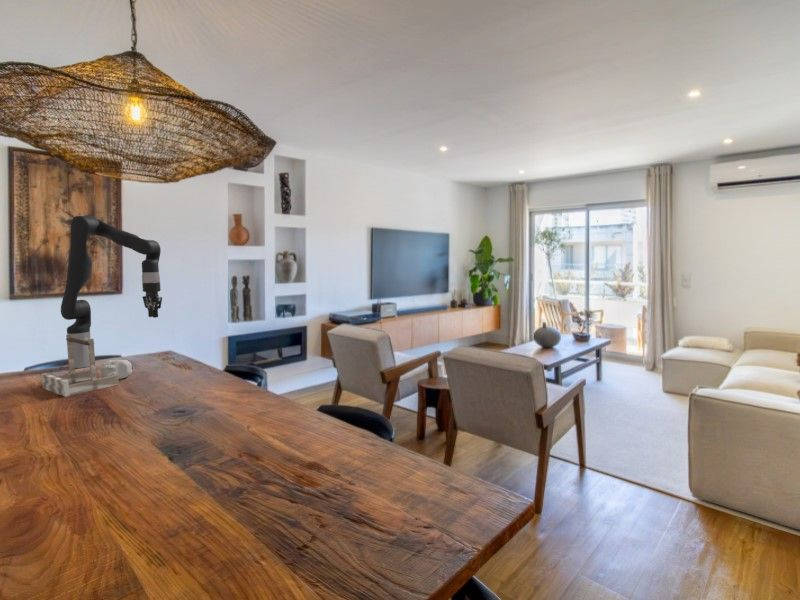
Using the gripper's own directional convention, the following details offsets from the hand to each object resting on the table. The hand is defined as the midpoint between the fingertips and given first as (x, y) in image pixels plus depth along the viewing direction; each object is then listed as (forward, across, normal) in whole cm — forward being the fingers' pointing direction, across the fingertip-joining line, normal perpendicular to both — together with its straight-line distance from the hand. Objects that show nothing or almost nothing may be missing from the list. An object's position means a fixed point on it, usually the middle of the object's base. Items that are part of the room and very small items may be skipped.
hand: (153, 317), depth 212 cm
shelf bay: (+25, +4, -33) cm, 42 cm away
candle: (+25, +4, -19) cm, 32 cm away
